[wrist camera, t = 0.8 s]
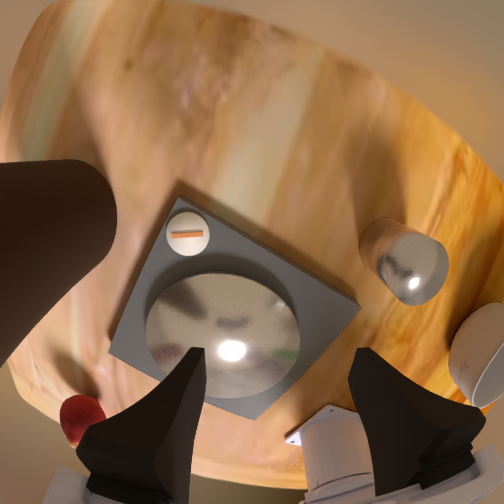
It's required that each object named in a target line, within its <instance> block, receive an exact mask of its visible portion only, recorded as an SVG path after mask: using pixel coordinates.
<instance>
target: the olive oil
mask: <svg viewBox="0 0 504 504" xmlns="http://www.w3.org/2000/svg"><path fill="white" fill-rule="evenodd" d="M116 227H117V214H116V207H115V202H114V198H113V195H112V193H111V190H110V188H109V186H108V184H107V182H106V181H105V179H104V178H103V177H102V175H101V174H100V173H99V172H98V171H97V170H96V169H95V168H93V167H92V166H90V165H89V164H87V163H85V162H82V161H78V160H48V161H25V162H8V163H0V368H1V366H2V365H3V364H4V363H5V361H6V360H7V359H8V358H9V356H10V355H11V354H12V353H13V351H14V350H15V349H16V348H17V346H18V345H19V344H20V343H21V342H22V340H23V339H24V338H25V337H26V336H27V335H28V333H29V332H30V331H31V330H32V329H33V328H34V327H35V326H36V324H37V323H38V322H39V321H40V320H41V319H42V318H43V317H44V316H45V315H46V314H47V313H48V312H49V310H50V309H51V308H52V307H53V306H54V305H55V304H56V303H57V302H58V301H59V300H60V299H61V298H62V297H63V296H64V295H65V294H66V293H67V292H68V291H69V290H70V289H71V288H72V287H73V286H74V285H76V284H77V283H78V282H79V281H80V280H81V279H82V278H83V277H84V276H85V275H87V274H88V273H89V272H90V271H91V270H92V269H93V268H94V267H96V266H97V265H98V264H99V263H100V262H101V261H102V260H103V259H104V258H105V257H106V255H107V254H108V252H109V251H110V249H111V247H112V244H113V242H114V238H115V234H116Z"/></svg>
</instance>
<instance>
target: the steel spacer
mask: <svg viewBox="0 0 504 504" xmlns="http://www.w3.org/2000/svg"><path fill="white" fill-rule="evenodd" d="M359 252H360V256H361V259H362V261H363V263H364V264H365V265H366V266H367V267H368V268H369V269H370V270H371V271H372V272H373V273H374V274H375V275H376V276H377V277H378V278H379V279H380V280H381V281H382V282H383V283H384V284H385V285H386V286H387V287H388V288H389V289H390V290H391V291H392V292H393V293H394V294H395V295H396V296H397V298H398V299H399V300H400V301H402V302H403V303H405V304H407V305H411V306H416V305H420V304H423V303H425V302H427V301H429V300H430V299H432V298H433V297H434V296H435V295H436V294H437V293H438V291H439V290H440V289H441V287H442V286H443V284H444V282H445V279H446V277H447V273H448V267H449V260H448V255H447V252H446V250H445V248H444V246H443V245H442V244H441V243H439V242H438V241H436V240H434V239H432V238H430V237H428V236H426V235H424V234H422V233H420V232H418V231H416V230H414V229H412V228H410V227H408V226H406V225H404V224H402V223H400V222H398V221H396V220H393V219H390V218H382V219H378V220H376V221H374V222H373V223H371V224H370V225H369V226H368V227H367V228H366V230H365V231H364V233H363V235H362V237H361V240H360V246H359Z"/></svg>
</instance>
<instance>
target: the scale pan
mask: <svg viewBox="0 0 504 504" xmlns="http://www.w3.org/2000/svg"><path fill="white" fill-rule="evenodd" d="M146 340H147V344H148V348H149V350H150V353H151V355H152V357H153V359H154V360H155V362H156V363H157V365H158V366H159V367H160V369H161V370H162V371H163V372H164V373H165V374H166V375H168V374H169V373H170V372H171V371H172V370H173V369H174V368H175V366H176V365H177V364H178V363H179V362H180V360H181V359H182V358H183V356H184V355H185V354H186V352H187V351H188V350H189V348H191V347H201V348H205V362H206V375H207V382H206V391H205V396H210V397H216V398H241V397H246V396H251V395H254V394H258V393H260V392H263V391H265V390H267V389H269V388H271V387H272V386H274V385H275V384H277V383H278V382H279V381H281V380H282V379H283V378H284V377H285V376H286V375H287V374H288V372H289V371H290V370H291V368H292V367H293V365H294V363H295V361H296V359H297V356H298V353H299V348H300V334H299V329H298V325H297V322H296V318H295V316H294V314H293V312H292V310H291V308H290V307H289V305H288V304H287V302H286V301H285V300H284V299H283V298H282V297H281V296H280V295H279V294H278V293H277V292H276V291H275V290H273V289H272V288H271V287H269V286H267V285H266V284H264V283H263V282H261V281H258V280H256V279H254V278H252V277H249V276H246V275H243V274H238V273H234V272H225V271H208V272H202V273H197V274H193V275H190V276H187V277H185V278H182V279H180V280H178V281H176V282H175V283H173V284H172V285H170V286H169V287H168V288H167V289H165V290H164V291H163V292H162V293H161V295H160V296H159V297H158V298H157V300H156V301H155V303H154V305H153V306H152V308H151V310H150V312H149V315H148V318H147V323H146Z"/></svg>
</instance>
